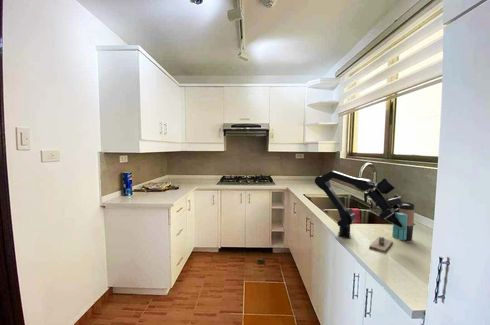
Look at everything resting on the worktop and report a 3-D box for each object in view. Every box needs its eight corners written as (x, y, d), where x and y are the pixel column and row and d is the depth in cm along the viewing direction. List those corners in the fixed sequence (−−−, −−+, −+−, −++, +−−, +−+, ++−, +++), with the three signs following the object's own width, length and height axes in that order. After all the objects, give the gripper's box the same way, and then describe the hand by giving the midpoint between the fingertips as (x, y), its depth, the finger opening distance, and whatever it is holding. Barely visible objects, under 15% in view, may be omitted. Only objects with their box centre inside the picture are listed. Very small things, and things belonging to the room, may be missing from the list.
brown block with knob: (369, 248, 117) (369, 239, 117) (378, 239, 129) (378, 231, 129) (385, 252, 113) (385, 244, 112) (392, 242, 124) (393, 235, 124)
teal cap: (391, 234, 119) (392, 211, 118) (404, 236, 117) (405, 213, 116) (393, 238, 114) (395, 215, 113) (407, 240, 111) (408, 216, 110)
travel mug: (409, 236, 132) (411, 202, 131) (414, 242, 125) (417, 206, 123) (393, 235, 134) (395, 201, 133) (398, 240, 127) (400, 205, 126)
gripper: (387, 193, 109) (415, 221, 102) (396, 187, 123) (421, 212, 116) (368, 206, 115) (393, 233, 109) (379, 199, 129) (401, 224, 122)
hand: (403, 225), depth 114 cm, fingers closed on teal cap, 6 cm apart
